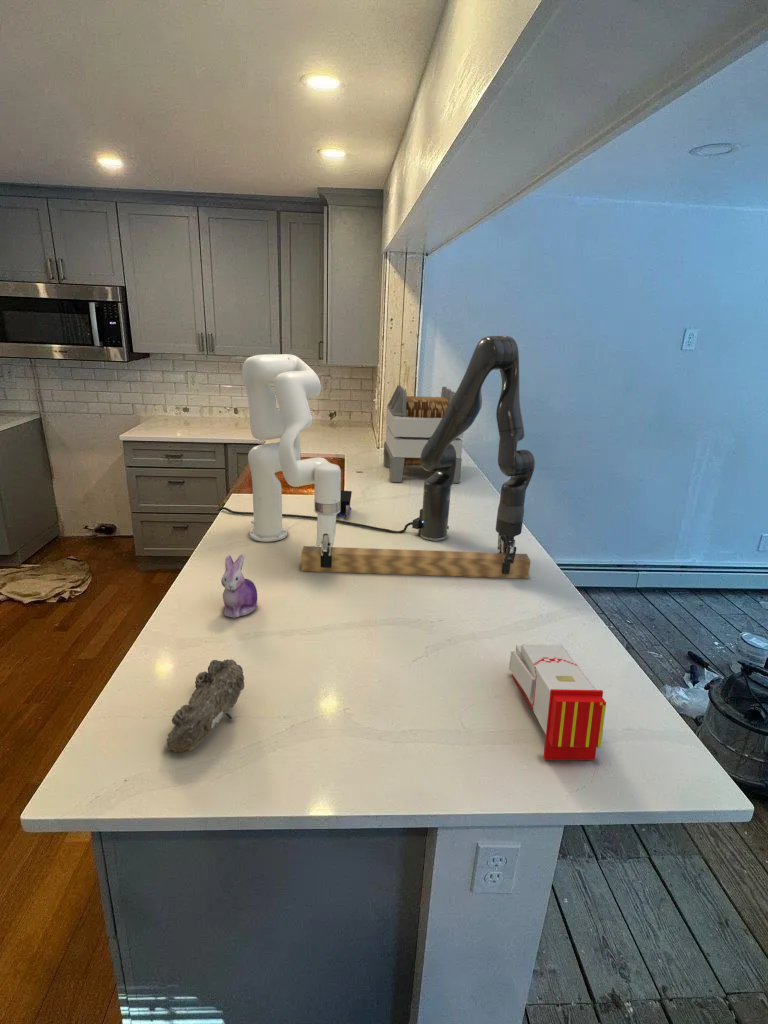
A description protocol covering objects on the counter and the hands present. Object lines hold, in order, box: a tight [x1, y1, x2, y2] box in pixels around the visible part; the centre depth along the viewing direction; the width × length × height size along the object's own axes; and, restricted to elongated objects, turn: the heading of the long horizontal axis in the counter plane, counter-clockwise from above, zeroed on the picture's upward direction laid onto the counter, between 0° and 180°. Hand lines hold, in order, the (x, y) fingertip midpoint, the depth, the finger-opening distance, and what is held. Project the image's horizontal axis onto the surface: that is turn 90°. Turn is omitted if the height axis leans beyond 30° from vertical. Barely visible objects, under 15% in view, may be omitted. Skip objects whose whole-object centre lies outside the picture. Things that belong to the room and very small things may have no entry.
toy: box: [508, 643, 607, 761], centre depth 112 cm, size 12×13×30 cm
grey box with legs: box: [383, 384, 464, 484], centre depth 268 cm, size 34×33×41 cm
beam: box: [301, 545, 531, 580], centre depth 171 cm, size 68×5×6 cm, turn 91°
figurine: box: [220, 553, 258, 618], centre depth 143 cm, size 9×10×15 cm
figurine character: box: [336, 489, 353, 519], centre depth 215 cm, size 7×8×15 cm
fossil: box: [166, 658, 245, 754], centre depth 106 cm, size 22×10×15 cm
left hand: (326, 562), depth 171 cm, fingers closed on beam, 4 cm apart
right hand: (503, 569), depth 172 cm, fingers closed on beam, 5 cm apart
